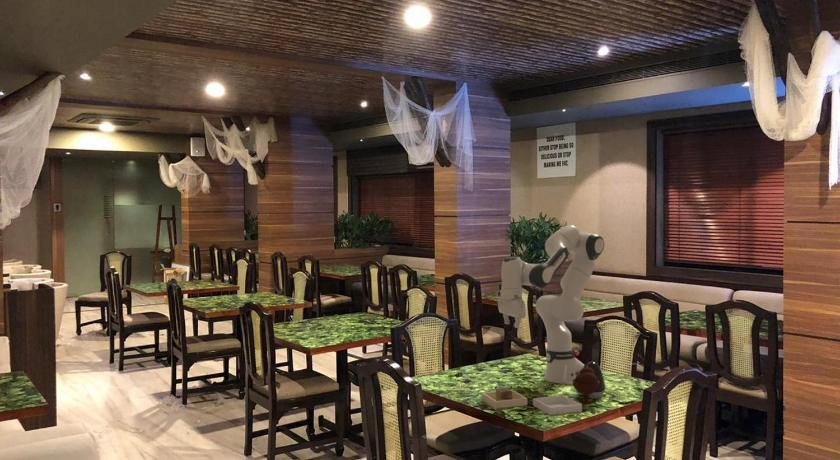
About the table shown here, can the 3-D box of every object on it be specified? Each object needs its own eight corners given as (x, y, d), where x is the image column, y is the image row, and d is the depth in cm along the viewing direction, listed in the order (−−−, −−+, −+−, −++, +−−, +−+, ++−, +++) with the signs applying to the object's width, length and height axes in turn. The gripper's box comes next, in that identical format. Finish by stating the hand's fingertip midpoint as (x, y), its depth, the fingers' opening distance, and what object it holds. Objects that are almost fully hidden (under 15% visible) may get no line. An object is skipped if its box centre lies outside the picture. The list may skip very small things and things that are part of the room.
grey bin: (563, 403, 279) (563, 395, 279) (582, 413, 266) (582, 404, 266) (533, 407, 275) (532, 398, 274) (550, 416, 261) (550, 407, 261)
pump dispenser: (574, 397, 289) (574, 361, 288) (590, 392, 295) (590, 357, 294) (594, 402, 281) (594, 365, 280) (610, 397, 287) (610, 361, 286)
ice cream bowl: (568, 401, 282) (568, 365, 282) (595, 400, 283) (594, 364, 283) (576, 408, 272) (576, 371, 271) (604, 407, 273) (603, 370, 272)
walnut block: (506, 399, 283) (506, 387, 282) (512, 403, 278) (512, 390, 278) (495, 401, 281) (495, 389, 281) (501, 404, 276) (500, 392, 276)
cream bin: (512, 397, 288) (512, 389, 288) (527, 406, 275) (527, 398, 275) (481, 401, 284) (481, 392, 284) (495, 410, 271) (495, 401, 270)
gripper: (529, 296, 287) (529, 329, 287) (508, 291, 306) (508, 321, 307) (515, 297, 285) (515, 330, 285) (495, 291, 304) (495, 322, 305)
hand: (511, 325), depth 296 cm, fingers open, 8 cm apart
